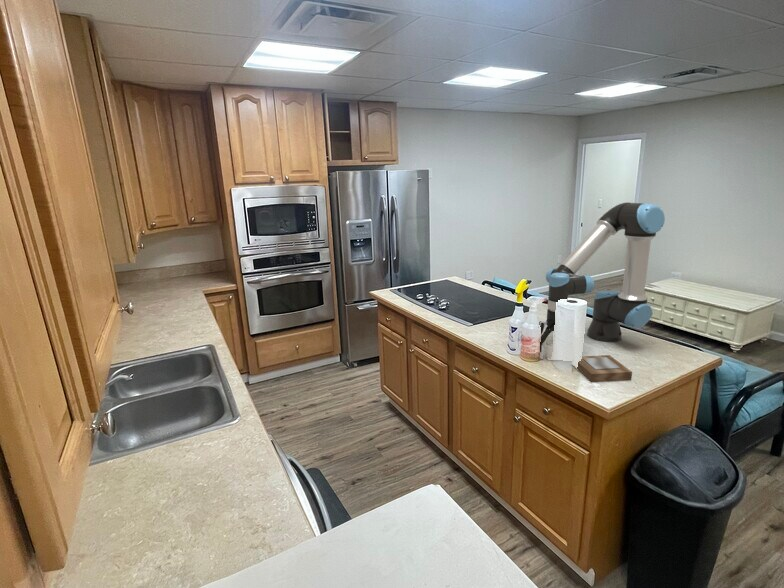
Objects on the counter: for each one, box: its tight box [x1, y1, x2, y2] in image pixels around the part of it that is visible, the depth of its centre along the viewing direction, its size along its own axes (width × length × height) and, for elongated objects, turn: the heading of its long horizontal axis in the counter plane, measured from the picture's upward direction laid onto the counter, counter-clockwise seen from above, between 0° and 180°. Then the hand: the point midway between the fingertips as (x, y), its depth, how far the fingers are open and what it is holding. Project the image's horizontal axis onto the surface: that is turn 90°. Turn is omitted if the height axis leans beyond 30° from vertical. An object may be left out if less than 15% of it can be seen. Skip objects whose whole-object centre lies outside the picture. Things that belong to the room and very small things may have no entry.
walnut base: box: [576, 354, 633, 383], centre depth 169 cm, size 16×16×4 cm
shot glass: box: [545, 340, 554, 359], centre depth 183 cm, size 7×7×7 cm
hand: (553, 357), depth 184 cm, fingers open, 10 cm apart
